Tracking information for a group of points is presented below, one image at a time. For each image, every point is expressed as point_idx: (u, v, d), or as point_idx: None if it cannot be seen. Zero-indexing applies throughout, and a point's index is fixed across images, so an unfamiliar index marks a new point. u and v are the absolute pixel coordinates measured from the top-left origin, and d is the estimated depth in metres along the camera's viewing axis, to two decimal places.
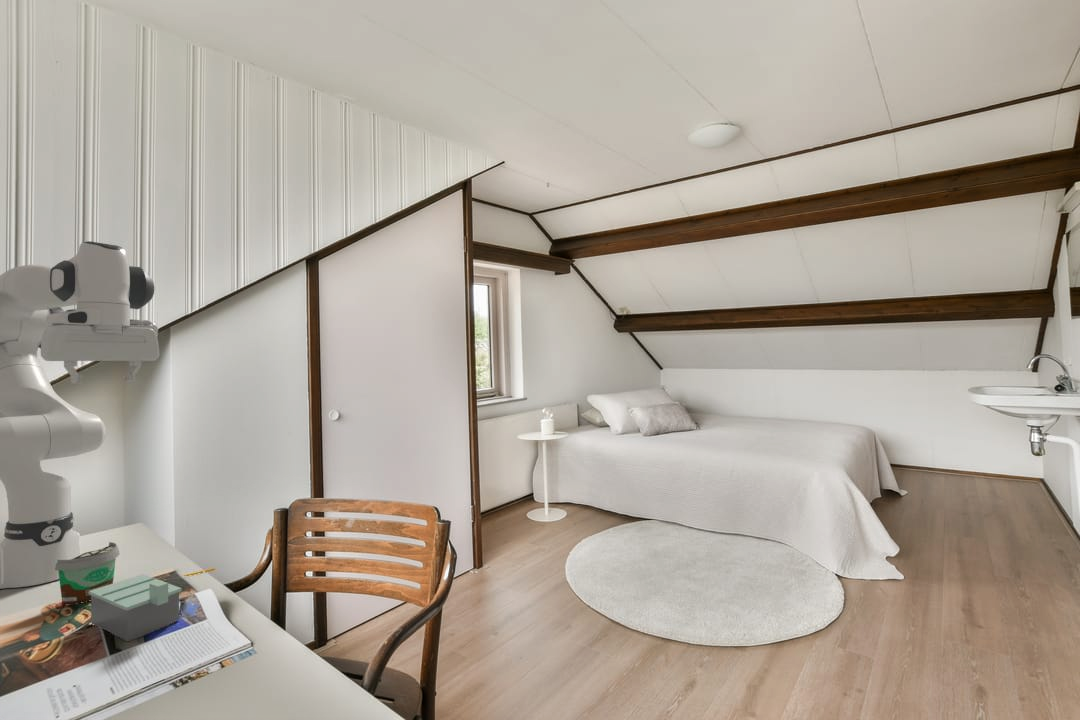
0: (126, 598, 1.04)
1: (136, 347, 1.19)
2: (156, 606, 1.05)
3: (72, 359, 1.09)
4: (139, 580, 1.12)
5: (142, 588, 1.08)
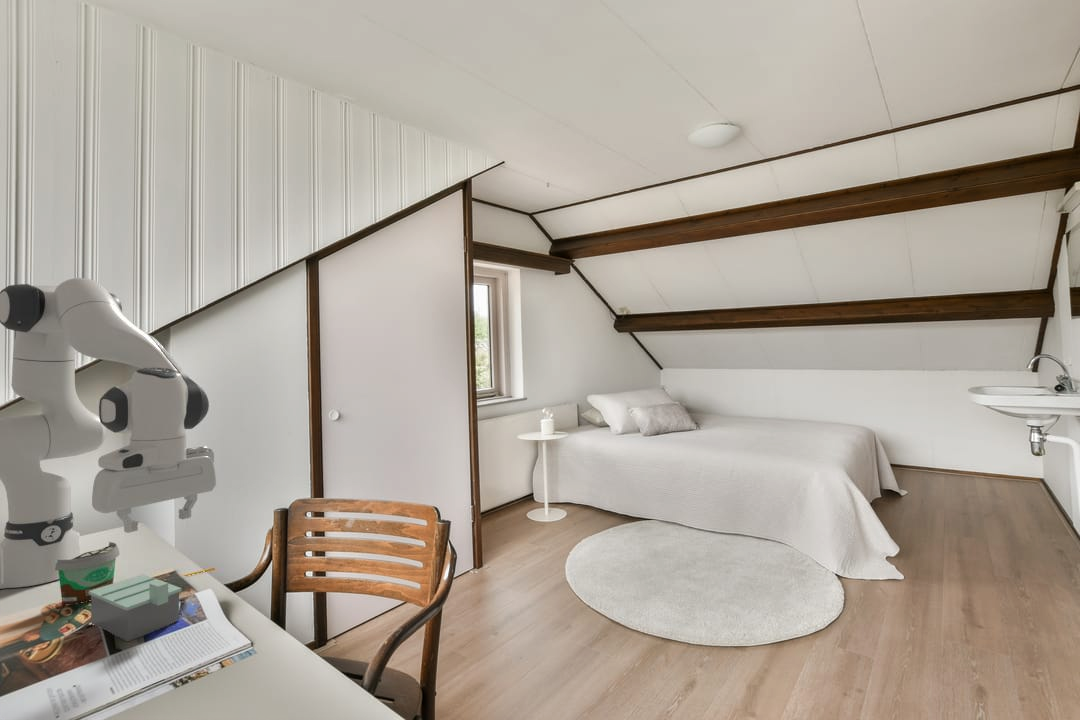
0: (126, 598, 1.04)
1: (193, 480, 1.07)
2: (156, 606, 1.05)
3: (127, 508, 0.97)
4: (139, 580, 1.12)
5: (142, 588, 1.08)
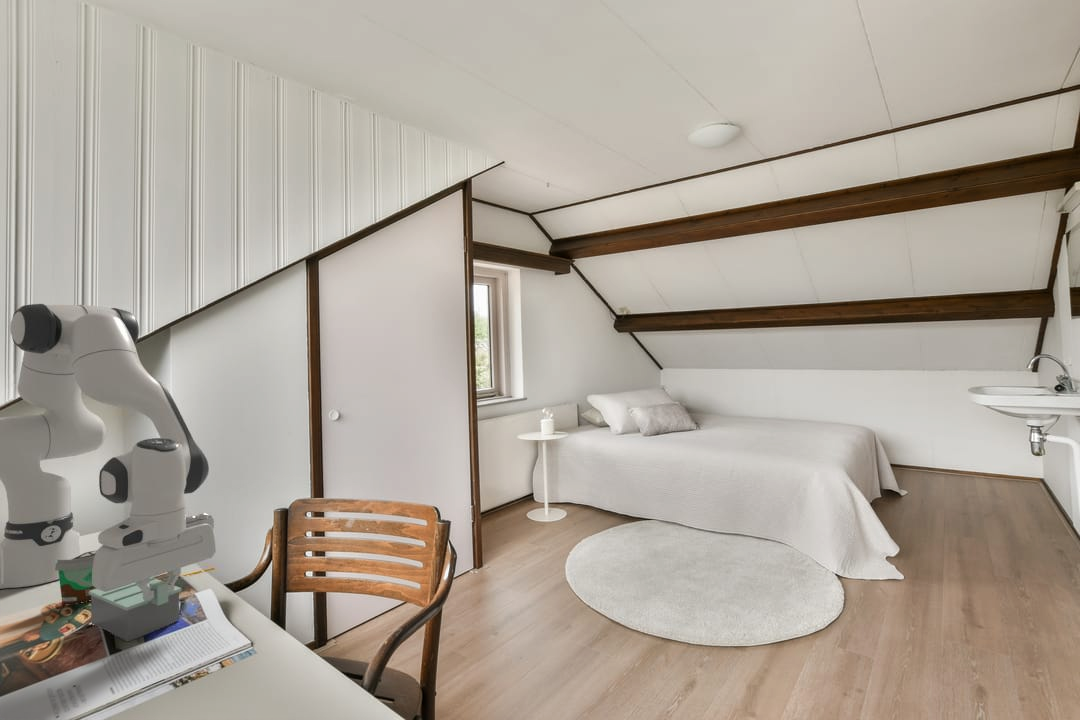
0: (126, 598, 1.04)
1: (193, 549, 1.08)
2: (156, 606, 1.05)
3: (127, 584, 0.98)
4: None
5: None
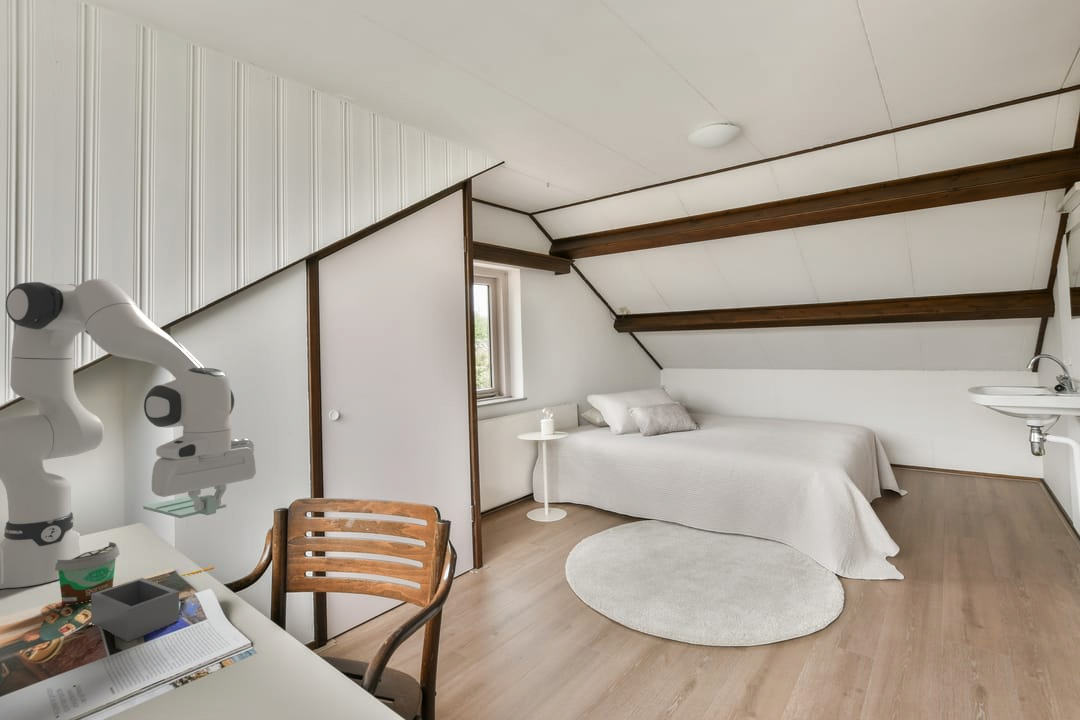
0: (178, 510, 1.16)
1: (236, 468, 1.19)
2: (156, 606, 1.05)
3: (182, 492, 1.09)
4: (186, 500, 1.24)
5: (191, 504, 1.20)
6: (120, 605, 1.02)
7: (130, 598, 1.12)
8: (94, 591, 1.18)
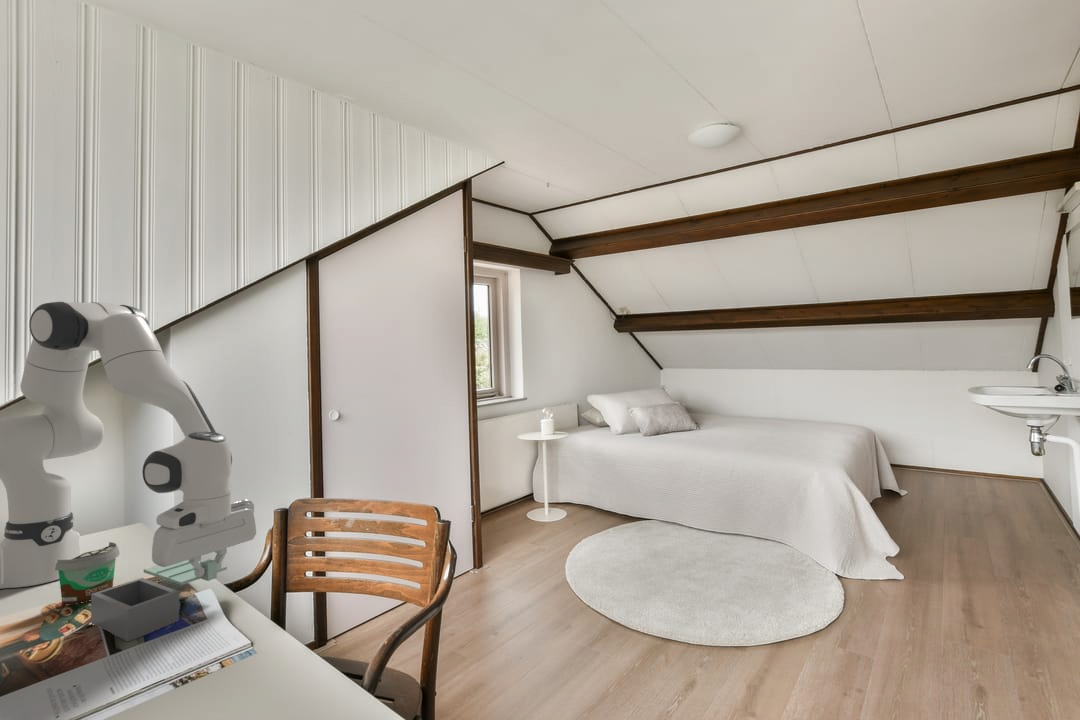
0: (179, 575, 1.16)
1: (237, 531, 1.19)
2: (156, 606, 1.05)
3: (182, 561, 1.09)
4: (187, 560, 1.24)
5: (191, 567, 1.20)
6: (120, 605, 1.02)
7: (130, 598, 1.12)
8: (94, 591, 1.18)
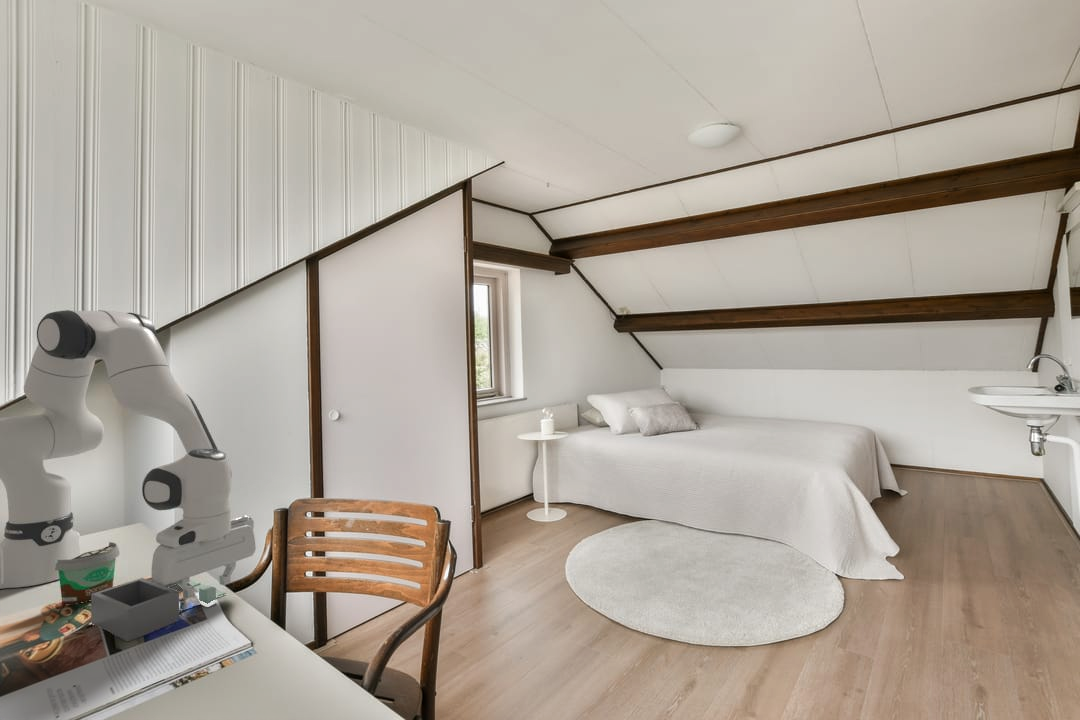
0: None
1: (236, 548, 1.20)
2: (156, 606, 1.05)
3: (181, 579, 1.10)
4: None
5: None
6: (120, 605, 1.02)
7: (130, 598, 1.12)
8: (94, 591, 1.18)
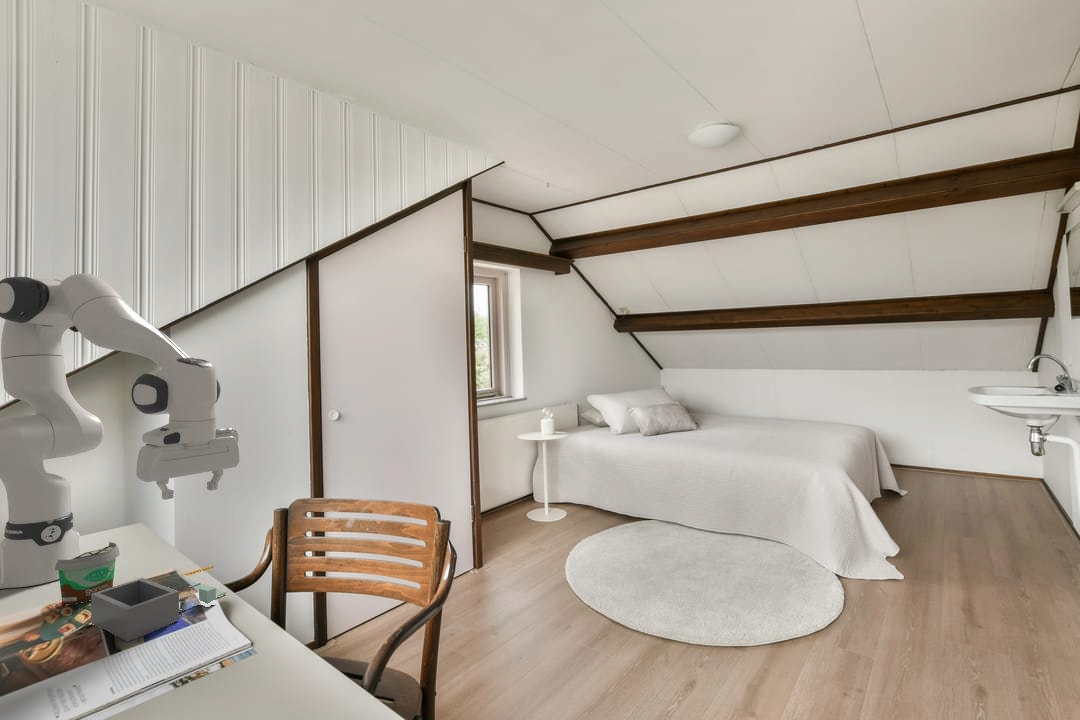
0: None
1: (220, 456, 1.23)
2: (156, 606, 1.05)
3: (165, 478, 1.13)
4: None
5: None
6: (120, 605, 1.02)
7: (130, 598, 1.12)
8: (94, 591, 1.18)
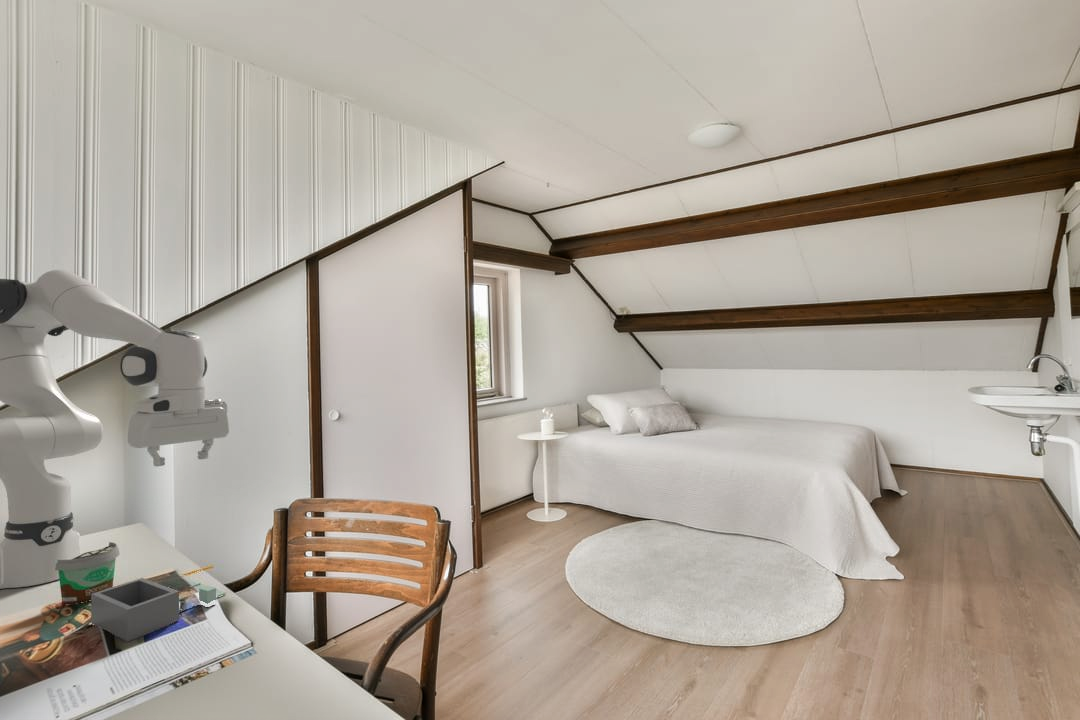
0: None
1: (210, 426, 1.27)
2: (156, 606, 1.05)
3: (156, 445, 1.17)
4: None
5: None
6: (120, 605, 1.02)
7: (130, 598, 1.12)
8: (94, 591, 1.18)
